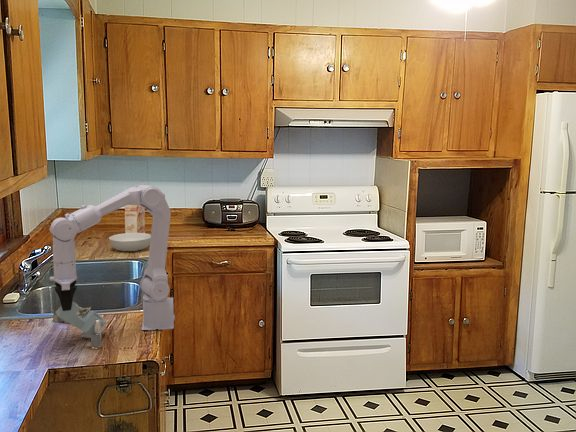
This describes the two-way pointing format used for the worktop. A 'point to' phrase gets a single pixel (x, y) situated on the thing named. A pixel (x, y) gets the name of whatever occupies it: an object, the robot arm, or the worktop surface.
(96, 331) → the pintle
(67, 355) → the worktop surface
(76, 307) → the link
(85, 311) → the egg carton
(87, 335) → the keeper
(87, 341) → the worktop surface
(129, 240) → the serving bowl
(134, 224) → the coffeecake box
